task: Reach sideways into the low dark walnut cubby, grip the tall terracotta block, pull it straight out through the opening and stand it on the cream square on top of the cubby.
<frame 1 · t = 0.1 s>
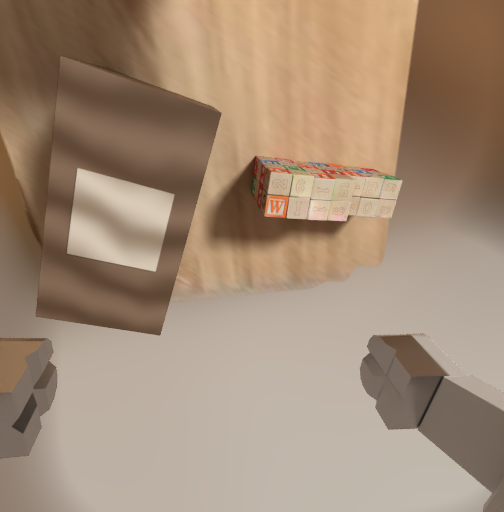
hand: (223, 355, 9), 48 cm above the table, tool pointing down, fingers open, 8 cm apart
stack of blocks: (312, 180, 58), on the table
cubby: (136, 184, 53), on the table
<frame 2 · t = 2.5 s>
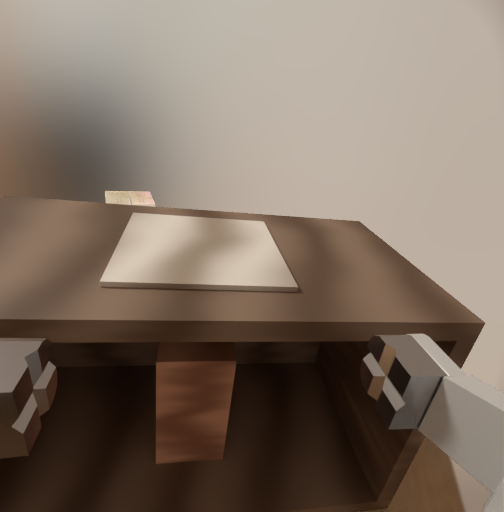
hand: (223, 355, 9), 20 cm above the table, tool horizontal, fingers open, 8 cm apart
stack of blocks: (131, 272, 51), on the table
terracotta block: (190, 431, 27), point 1 cm above the table, touching cubby
cubby: (189, 433, 28), on the table
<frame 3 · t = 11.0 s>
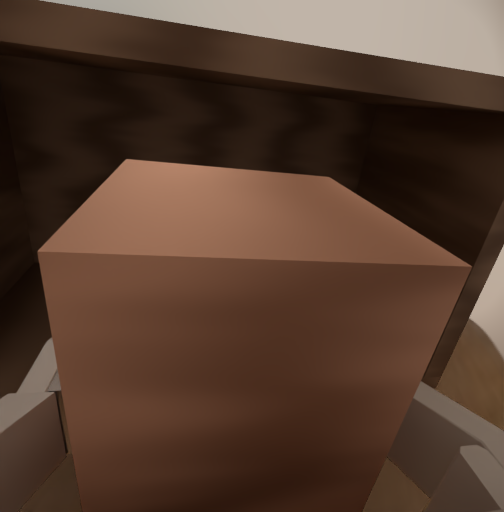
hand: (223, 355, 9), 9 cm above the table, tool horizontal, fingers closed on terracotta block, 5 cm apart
cubby: (199, 322, 25), on the table
when the fingers open (24 cm above the table, at t = 14.9 s): terracotta block drops 1 cm, resting on cubby.
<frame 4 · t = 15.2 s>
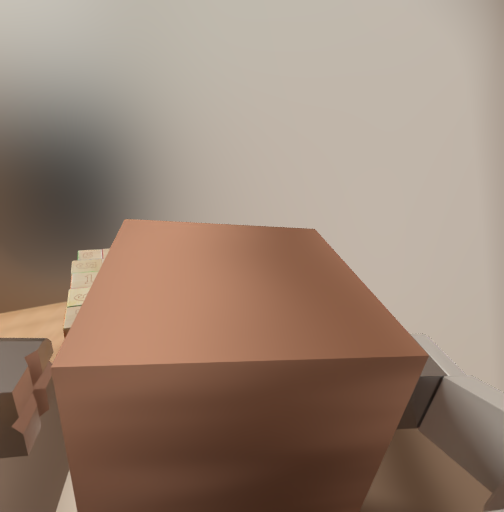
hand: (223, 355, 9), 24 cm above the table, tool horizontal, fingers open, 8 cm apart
stack of blocks: (109, 351, 42), on the table
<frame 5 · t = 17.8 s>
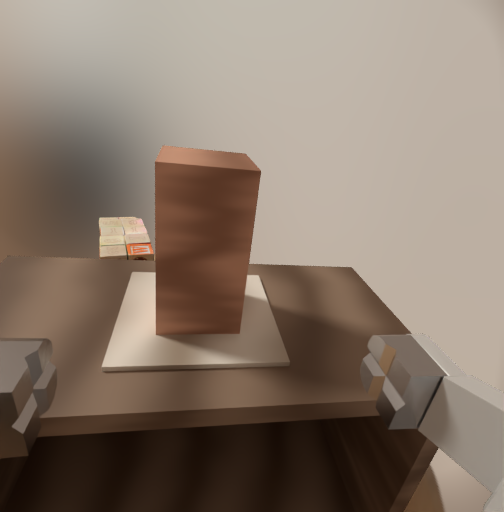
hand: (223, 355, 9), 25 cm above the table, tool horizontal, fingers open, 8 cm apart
stack of blocks: (125, 294, 54), on the table
terracotta block: (197, 310, 22), point 17 cm above the table, touching cubby
cubby: (188, 479, 29), on the table
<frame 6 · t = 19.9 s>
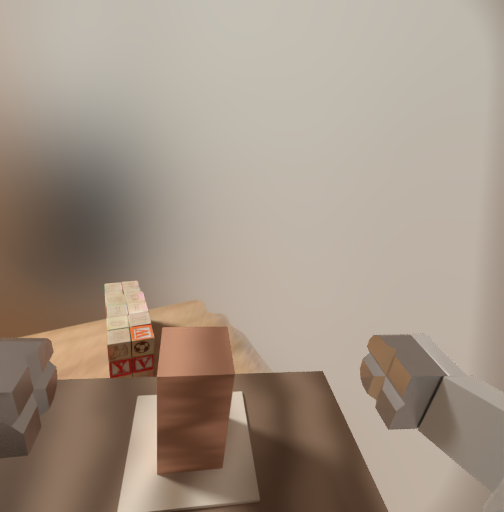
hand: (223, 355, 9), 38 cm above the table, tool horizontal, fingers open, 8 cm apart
stack of blocks: (128, 356, 60), on the table
terracotta block: (190, 441, 28), point 17 cm above the table, touching cubby
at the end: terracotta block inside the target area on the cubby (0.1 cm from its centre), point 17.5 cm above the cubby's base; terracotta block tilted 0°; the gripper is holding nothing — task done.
